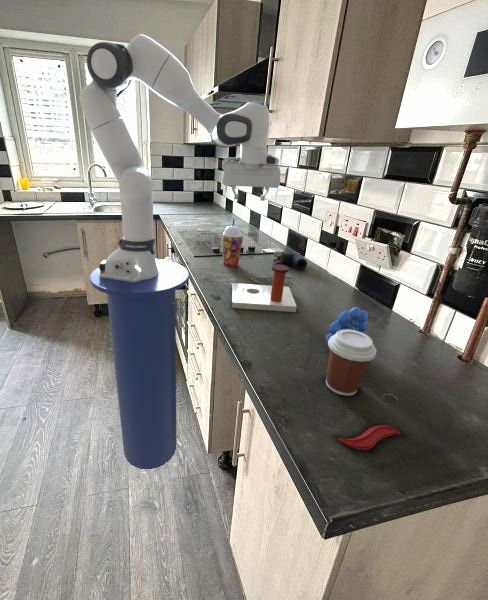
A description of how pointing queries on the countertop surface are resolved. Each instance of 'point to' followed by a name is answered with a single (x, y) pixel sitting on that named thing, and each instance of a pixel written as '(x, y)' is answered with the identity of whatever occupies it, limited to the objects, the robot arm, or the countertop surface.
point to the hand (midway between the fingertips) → (249, 199)
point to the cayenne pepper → (370, 437)
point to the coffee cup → (348, 360)
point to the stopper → (278, 282)
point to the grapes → (349, 322)
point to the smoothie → (232, 245)
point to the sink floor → (261, 298)
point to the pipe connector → (290, 259)
